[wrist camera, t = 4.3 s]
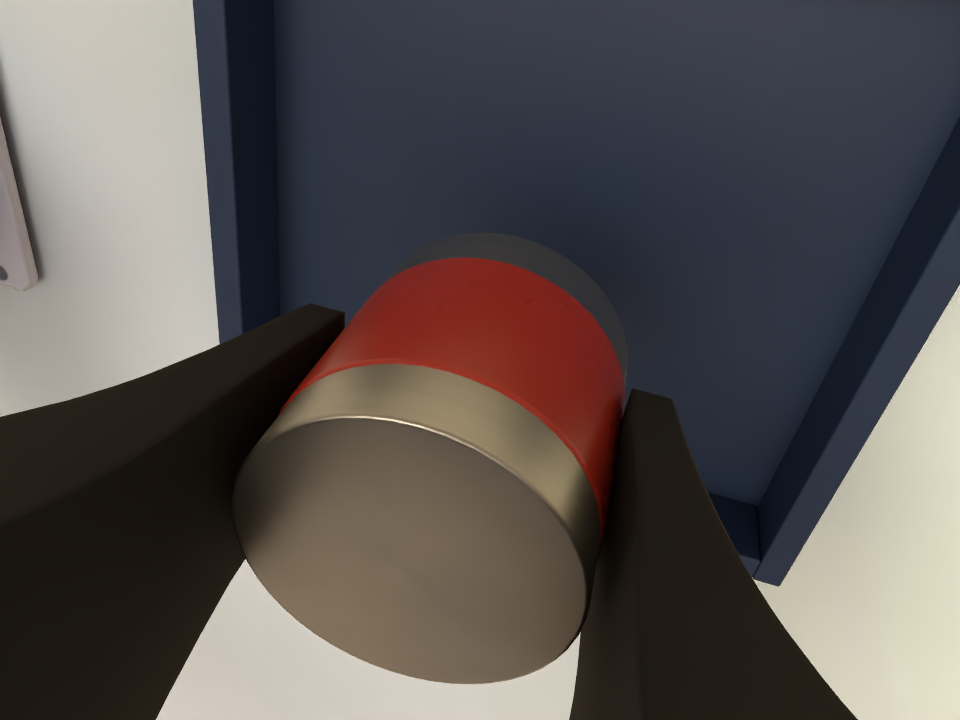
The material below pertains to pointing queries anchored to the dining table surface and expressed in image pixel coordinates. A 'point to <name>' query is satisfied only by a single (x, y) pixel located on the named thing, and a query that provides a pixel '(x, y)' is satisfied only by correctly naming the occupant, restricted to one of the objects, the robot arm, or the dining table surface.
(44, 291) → the dining table surface
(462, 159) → the tray
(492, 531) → the tin can
